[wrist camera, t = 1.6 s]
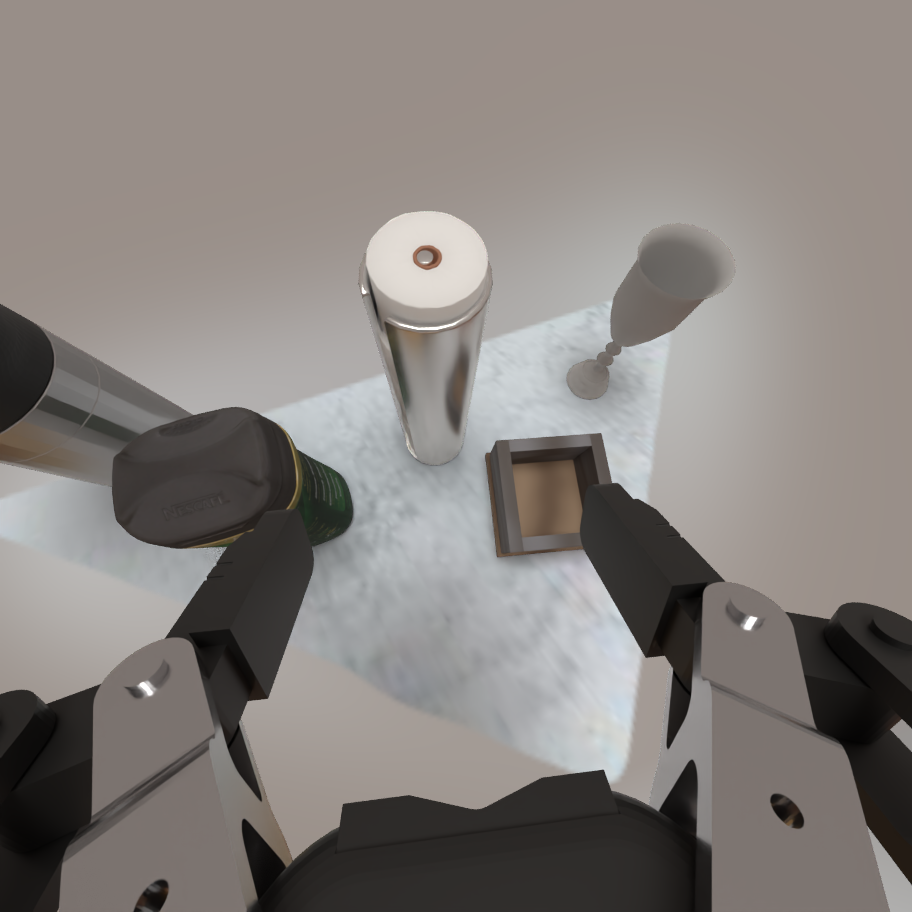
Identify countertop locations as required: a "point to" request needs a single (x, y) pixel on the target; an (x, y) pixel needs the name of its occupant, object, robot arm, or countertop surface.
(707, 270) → the chalice
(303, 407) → the countertop surface
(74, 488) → the countertop surface
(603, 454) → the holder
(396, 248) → the silver metal cylinder
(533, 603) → the countertop surface
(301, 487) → the coffee jar
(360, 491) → the countertop surface
